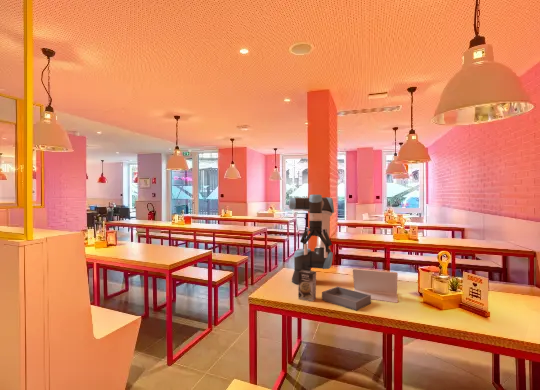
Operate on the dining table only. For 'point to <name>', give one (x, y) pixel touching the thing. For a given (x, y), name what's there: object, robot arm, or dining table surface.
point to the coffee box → (307, 285)
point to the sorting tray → (346, 298)
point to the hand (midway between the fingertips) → (315, 256)
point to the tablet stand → (376, 284)
